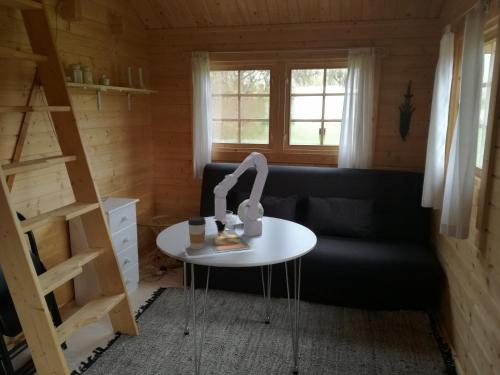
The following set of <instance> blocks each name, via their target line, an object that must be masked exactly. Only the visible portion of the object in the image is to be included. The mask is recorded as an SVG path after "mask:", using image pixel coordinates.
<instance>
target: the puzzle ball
mask: <svg viewBox="0 0 500 375" xmlns="http://www.w3.org/2000/svg"><path fill="white" fill-rule="evenodd" d="M249 199H250V198H249ZM249 199H245V200H243V201H242V202H241V203H240V204H239V206H238V208H237V217H238V219H239V221H240V222H242V223H243V224H244V217H245V215H244V214H243V208H244V207H245V206H246V204H247V202H248V201H249ZM258 213H259V215H258V218H257V219H261V220H262V219H263V217H264V208H263V205H262V204H261V202H259V210H258Z"/></svg>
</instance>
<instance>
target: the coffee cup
mask: <svg viewBox="0 0 500 375" xmlns="http://www.w3.org/2000/svg"><path fill="white" fill-rule="evenodd" d="M187 222H188V223H187V224H188V233H189V235H188V236H189V242H190V244H189V245H190V249H193V250H202V249H203V248H205V243H206V240H205V235H206V225H207V224H206V223H207V221H206V219H205V217H203V216H192V217H189V218H188V221H187Z"/></svg>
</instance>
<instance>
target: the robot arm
mask: <svg viewBox="0 0 500 375" xmlns="http://www.w3.org/2000/svg"><path fill="white" fill-rule="evenodd" d="M267 161H268V160H267V158H266V157H265V156H264V154H263V153H259V152H257V151H254V152H253V151H252V152H251V153H250V154H249V155H248V156H247V157H246V158H245V159H244V160H243V161H242V162H241V164H240V165H239V166H238V167H237V168H236V169H235V170H234V172H232V173H231V174H226V175H225V176H224V178H223V180H222V181H221V182H219V183H218V185H215V187H214V189H213V194H214V216H213V217H212V220H214V224H215V226H216V230H217V232H218V231H225V227H226V225H227V224H228V221H227V199H226V196H227V195H228V192H229V191H230V190H231V189H232V188H233V187H234V186H235V185H236V183H238V178H239V177H240V176H241V175H242V174H243V173H244V172H245V171H246V170H248V169H249V168H255V169H256V171H257V174H256V177H255V180H254V182H253V185H252V189H251V193H250V196H249V201H248V202H247V204H246V206H245V207H244V208H243V214H244V215H245V217H244V223H243V235H244V236H246V237H248V236H249V237H253V236H262V235H263V222H262V219H257V218H258V215H259V213H258V210H259V203H260V200H261V197H262V194H263V190H264V187H265V183H266V180H267V177H268V173H269V166H268V163H267Z"/></svg>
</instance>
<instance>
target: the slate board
mask: <svg viewBox="0 0 500 375" xmlns="http://www.w3.org/2000/svg"><path fill="white" fill-rule="evenodd" d="M227 233H228V234H229V235H235V234H237V232H235V231H232V232H231V231H230V232H227ZM237 235H238V234H237ZM215 236H218V233H210V234H205V242H206V243H207V244H208V245H209V247H210V248H211V250H212V251H214V252H216V254H219V253H220V254H221V253H222V252H223V251H225V253H229V252H231V251H232V250H234V252H238V251H240V250H241V249H243V251H247V250H249V249H250V248H251V246H250V245H249V244H248V243H247V242H246V240H244V239H243V238H242V237H241V236H239V235H238V236H239V243H229V244H220V245H215V243H214V237H215ZM236 249H237V250H236ZM219 251H220V252H219Z"/></svg>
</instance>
